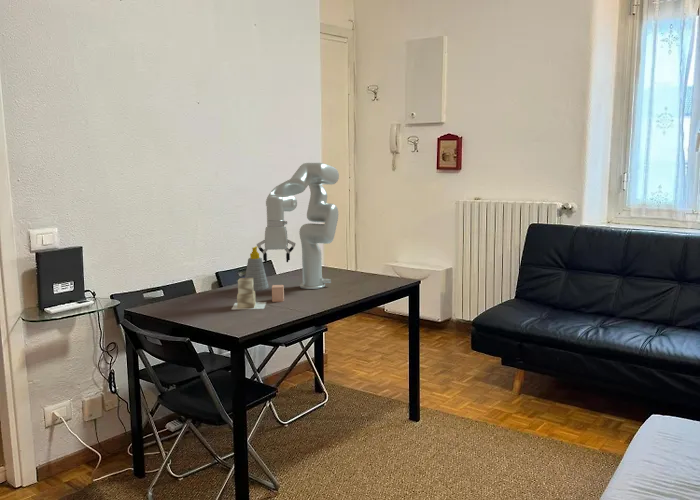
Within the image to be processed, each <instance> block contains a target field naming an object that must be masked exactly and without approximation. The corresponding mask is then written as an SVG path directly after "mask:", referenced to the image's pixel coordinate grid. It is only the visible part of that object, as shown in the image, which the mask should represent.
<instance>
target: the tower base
mask: <svg viewBox="0 0 700 500" xmlns="http://www.w3.org/2000/svg"><path fill="white" fill-rule="evenodd" d="M236 301H237V302H236V303H237V306H238V308H254V307H255V304H256V302H257V301H256V291H254V292H253V294H241V295H238V293H237V294H236Z"/></svg>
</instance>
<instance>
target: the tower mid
mask: <svg viewBox="0 0 700 500" xmlns="http://www.w3.org/2000/svg"><path fill="white" fill-rule="evenodd" d="M253 292H254V282H253V278H245V277H239V279H238V280H237V294H238V295H241V294H253Z"/></svg>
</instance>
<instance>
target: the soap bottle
mask: <svg viewBox="0 0 700 500" xmlns="http://www.w3.org/2000/svg"><path fill="white" fill-rule="evenodd" d="M251 249H252V251H251V253H250V255H249V256H250V257H248V259H247V264H246V271H245V275H244V276H245V277H244V278H253V282H254V291H255V292H256V291H257V292H259V291H263V290H264V291H265V290H267V289H269V282H268V279H267V274H266V271H265V270H266V269H265V267H264V262H263V257H260V252H258V250H257V249H258V247H257V245H256V246H254V247H251Z"/></svg>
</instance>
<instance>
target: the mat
mask: <svg viewBox="0 0 700 500" xmlns="http://www.w3.org/2000/svg"><path fill="white" fill-rule="evenodd" d="M266 305H267V301H259V302H257V301H256V304H255V307H254V308H238V306H237V302H234V304H233V306H232V307H231V310H232V311H233V310H264V309H265V307H266Z"/></svg>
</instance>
